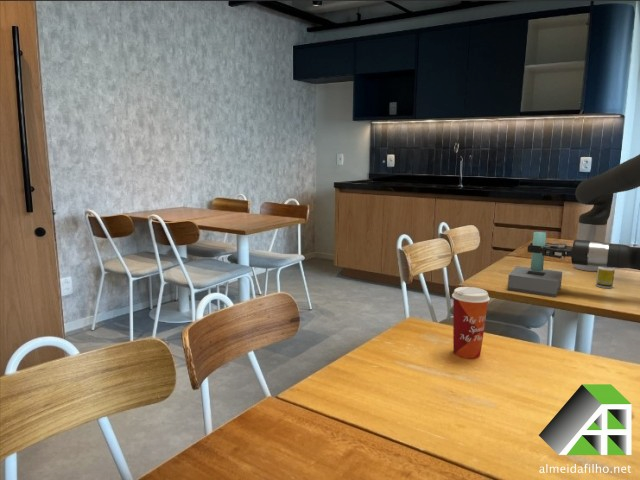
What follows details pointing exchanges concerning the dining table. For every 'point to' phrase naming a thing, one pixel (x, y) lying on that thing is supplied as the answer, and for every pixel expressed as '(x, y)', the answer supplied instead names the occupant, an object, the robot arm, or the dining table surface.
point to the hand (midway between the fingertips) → (529, 247)
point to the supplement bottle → (605, 277)
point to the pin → (538, 258)
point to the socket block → (535, 281)
